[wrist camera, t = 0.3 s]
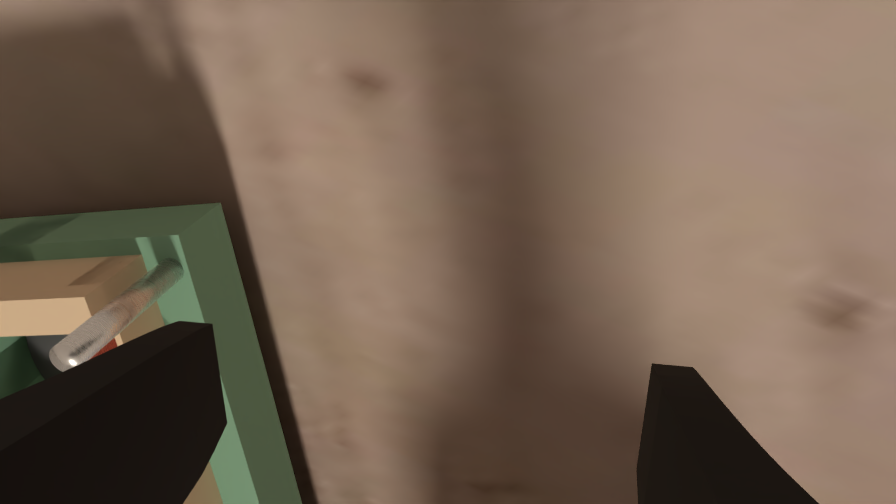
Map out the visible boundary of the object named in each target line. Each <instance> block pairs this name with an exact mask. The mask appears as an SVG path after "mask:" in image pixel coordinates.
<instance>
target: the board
mask: <svg viewBox="0 0 896 504" xmlns="http://www.w3.org/2000/svg"><path fill="white" fill-rule="evenodd" d="M166 258H172V259H175V260H177V261H178V262H179V263H180V264H181V265H182V267H183V269H184V275H183V278H182V279H181V280H180V281H178V282H177V283H176V284H175V285H174V286H173V287H172V288H170V289H169V290H168V291H167V292H166V293H165V294H164V295H162V296H161V297H160V298H159V299H158V300H157V301H156V302H154V303H153V304H152V305H151V306H150V307H149V308H148V309H146V310H145V311H144V312H143V313H142V314H141V315H140V316H139V317H137V318H136V319H135V320H134V321H133V322H132V323H131V324H129V325H128V326H127V327H126V328H125V329H124V330H123V331H121V332H120V333H119V334H118V335H117V336H116V337H115V340H116V343H117V346H120V345H122V344H124V343H126V342H128V341H131V340H133V339H135V338H137V337H139V336H142V335H144V334H146V333H148V332H151V331H153V330H155V329H158V328H160V327H163V326H165V325H168V324H171V323H174V322H177V321H188V322H199V323H210V324H213V331H214V337H215V344H216V351H217V357H218V364H219V371H220V377H221V384H222V391H223V397H224V404H225V411H226V417H227V425H226V427H225V429H224V431H223V434H222V436H221V438H220V440H219V442H218V444H217V446H216V449H215V451H214V453H213V455H212V457H211V459H210V460H209V462H208V464H207V466H206V468H205V470H204V472H203V474H202V476H201V477H200V479H199V480H198V482H197V483H196V485H195V487H194V488H193V490H192V491H191V493H190V494H189V496H188V497H187V499H186V500H185V501H184V503H183V504H302V501H301V498H300V494H299V490H298V487H297V483H296V479H295V476H294V472H293V468H292V464H291V461H290V457H289V453H288V450H287V446H286V442H285V439H284V435H283V431H282V427H281V424H280V420H279V416H278V413H277V409H276V405H275V402H274V398H273V394H272V391H271V387H270V383H269V379H268V376H267V372H266V368H265V365H264V361H263V357H262V354H261V350H260V346H259V343H258V339H257V335H256V331H255V328H254V324H253V320H252V317H251V313H250V309H249V306H248V302H247V298H246V294H245V291H244V287H243V283H242V280H241V276H240V272H239V269H238V265H237V261H236V258H235V254H234V250H233V246H232V243H231V239H230V235H229V232H228V228H227V224H226V221H225V217H224V213H223V210H222V206H221V203H209V204H196V205H182V206H169V207H156V208H142V209H129V210H115V211H102V212H88V213H75V214H62V215H48V216H35V217H21V218H8V219H0V399H1V398H4V397H6V396H8V395H11V394H13V393H15V392H18V391H20V390H22V389H25V388H27V387H29V386H32V385H34V384H36V383H39V382H41V381H43V380H46V379H48V378H50V377H53V376H55V375H57V374H59V373H62V371H60V370H58V369H57V368H56V367H55V366H54V365H53V364H52V362H51V360H50V357H49V352H50V350H51V348H52V347H54V346H55V345H56V344H57V343H59V342H60V341H61V340H62V339H64V338H65V337H66V336H68V335H69V334H70V333H71V332H73V331H74V330H75V329H76V328H78V327H79V326H80V325H81V324H83V323H84V322H85V321H86V320H88V319H89V318H90V317H92V316H93V315H94V314H95V313H97V312H98V311H99V310H100V309H102V308H103V307H104V306H105V305H107V304H108V303H109V302H110V301H112V300H113V299H114V298H116V297H117V296H118V295H119V294H121V293H122V292H123V291H124V290H126V289H127V288H128V287H129V286H131V285H132V284H133V283H134V282H136V281H137V280H138V279H140V278H141V277H142V276H143V275H145V274H146V273H147V272H148V271H150V270H151V269H152V268H153V267H155V266H156V265H157V264H158V263H160V262H161V261H162V260H164V259H166Z"/></svg>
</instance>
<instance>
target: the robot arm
mask: <svg viewBox="0 0 896 504" xmlns="http://www.w3.org/2000/svg"><path fill="white" fill-rule="evenodd" d="M226 425H227V417H226V411H225V404H224V397H223V391H222V384H221V377H220V371H219V364H218V357H217V351H216V344H215V337H214V331H213V324H210V323H199V322H188V321H177V322H174V323H171V324H168V325H165V326H163V327H160V328H158V329H155V330H153V331H151V332H148V333H146V334H144V335H142V336H139V337H137V338H135V339H133V340H131V341H128V342H126V343H124V344H122V345H120V346H118V347H115V348H113V349H111V350H109V351H107V352H105V353H103V354H100V355H98V356H96V357H94V358H92V359H90V360H87V361H85V362H83V363H81V364H79V365H77V366H75V367H72V368H70V369H68V370H66V371H64V372H62V373H59V374H57V375H55V376H53V377H50V378H48V379H46V380H43V381H41V382H39V383H36V384H34V385H32V386H29V387H27V388H25V389H22V390H20V391H18V392H15V393H13V394H11V395H8V396H6V397H4V398H1V399H0V504H183V503H184V501H185V500H186V499H187V497H188V496H189V494H190V493H191V491H192V490H193V488H194V487H195V485H196V483H197V482H198V480H199V479H200V477H201V476H202V474H203V472H204V470H205V468H206V466H207V464H208V462H209V460H210V459H211V457H212V455H213V453H214V451H215V449H216V446H217V444H218V442H219V440H220V438H221V436H222V434H223V431H224V429H225V427H226ZM637 487H638V504H819V503H818V502H816V501H815V500H814V499H813V498H812V497H811V496H810V495H809V494H808V493H807V492H806V491H805V490H804V489H803V488H802V487H801V486H800V485H799V484H798V483H797V482H796V481H795V480H794V479H793V478H792V477H790V476H789V475H788V474H787V473H786V472H785V471H784V470H783V469H782V468H781V467H780V466H779V465H778V463H777V462H776V461H775V460H774V459H773V458H772V457H771V456H770V455H769V454H768V453H767V452H766V451H765V450H764V449H763V448H762V447H761V446H760V444H759V443H758V442H757V441H756V440H755V439H754V438H753V437H752V436H751V435H750V434H749V432H748V431H747V430H746V429H745V428H744V427H743V426H742V424H741V423H740V422H739V421H738V420H737V419H736V417H735V416H734V415H733V414H732V413H731V412H730V410H729V409H728V408H727V407H726V406H725V405H724V403H723V402H722V401H721V400H720V399H719V397H718V396H717V395H716V394H715V393H714V391H713V390H712V389H711V388H710V387H709V385H708V384H707V383H706V382H705V381H704V379H703V378H702V377H701V376H700V375H699V374H698V372H697V371H696V370H695V369H694V368H693V367H684V366H673V365H662V364H652V366H651V373H650V380H649V387H648V394H647V401H646V408H645V415H644V422H643V429H642V435H641V442H640V449H639V456H638V463H637Z"/></svg>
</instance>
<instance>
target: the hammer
mask: <svg viewBox="0 0 896 504" xmlns="http://www.w3.org/2000/svg"><path fill="white" fill-rule="evenodd" d="M183 275H184V269H183V267H182V265H181V264H180V263H179V262H178V261H177V260H175V259H172V258H166V259H164V260H162V261H161V262H160V263H158V264H157V265H156V266H155V267H153V268H152V269H151V270H150V271H148V272H147V273H146V274H145V275H143V276H142V277H141V278H140V279H138V280H137V281H136V282H134V283H133V284H132V285H131V286H129V287H128V288H127V289H126V290H124V291H123V292H122V293H121V294H119V295H118V296H117V297H116V298H114V299H113V300H112V301H110V302H109V303H108V304H107V305H105V306H104V307H103V308H102V309H100V310H99V311H98V312H97V313H95V314H94V315H93V316H92V317H90V318H89V319H88V320H86V321H85V322H84V323H83V324H81V325H80V326H79V327H78V328H76V329H75V330H74V331H73V332H71V333H70V334H69V335H68V336H66V337H65V338H64V339H62V340H61V341H60V342H59V343H57V344H56V345H55V346H54V347H52V348H51V350H50V352H49V357H50V360H51V362H52V364H53V365H54V366H55V367H56V368H57V369H58V370H60V371H62V372H64V371H66V370H68V369H70V368H72V367H75V366H77V365H79V364H81V363H83V362H85V361H87V360H90V359H92V358H94V357H96V356H98V355H100V354H103V353H105V352H107V351H109V350H111V349H113V348H115V347H118V346H117V343H116V340H115V337H116V336H117V335H118V334H119V333H120V332H121V331H123V330H124V329H125V328H126V327H127V326H128V325H129V324H131V323H132V322H133V321H134V320H135V319H136V318H137V317H139V316H140V315H141V314H142V313H143V312H144V311H145V310H146V309H148V308H149V307H150V306H151V305H152V304H153V303H154V302H156V301H157V300H158V299H159V298H160V297H161V296H162V295H164V294H165V293H166V292H167V291H168V290H169V289H170V288H172V287H173V286H174V285H175V284H176V283H177V282H178V281H180V280H181V279H182V278H183Z"/></svg>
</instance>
